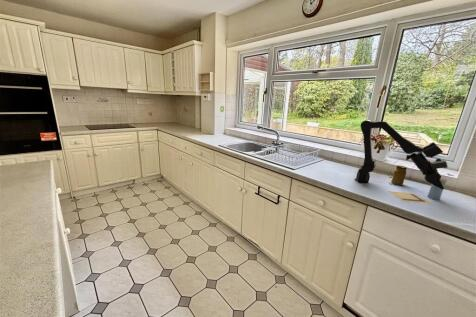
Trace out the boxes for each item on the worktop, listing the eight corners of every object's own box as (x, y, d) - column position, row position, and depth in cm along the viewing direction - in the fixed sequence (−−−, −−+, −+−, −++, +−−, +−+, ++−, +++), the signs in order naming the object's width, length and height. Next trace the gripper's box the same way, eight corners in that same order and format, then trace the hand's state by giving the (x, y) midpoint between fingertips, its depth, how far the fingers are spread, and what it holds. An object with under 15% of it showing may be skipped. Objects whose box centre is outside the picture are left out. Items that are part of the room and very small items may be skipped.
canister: (434, 201, 111) (442, 180, 108) (424, 197, 116) (431, 177, 113) (441, 201, 113) (449, 180, 109) (431, 196, 117) (438, 176, 114)
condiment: (392, 181, 138) (397, 164, 135) (407, 185, 132) (413, 167, 129) (388, 183, 134) (393, 166, 130) (404, 188, 128) (410, 169, 124)
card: (403, 202, 108) (403, 201, 108) (387, 191, 120) (387, 191, 120) (433, 205, 107) (433, 204, 107) (414, 194, 120) (414, 193, 119)
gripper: (441, 157, 102) (464, 184, 99) (436, 151, 117) (456, 174, 114) (416, 168, 109) (437, 194, 106) (414, 161, 124) (432, 184, 120)
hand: (441, 186), depth 111 cm, fingers open, 9 cm apart
